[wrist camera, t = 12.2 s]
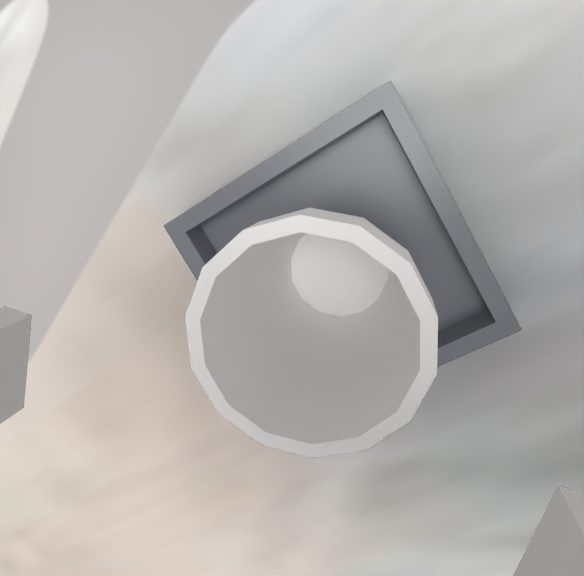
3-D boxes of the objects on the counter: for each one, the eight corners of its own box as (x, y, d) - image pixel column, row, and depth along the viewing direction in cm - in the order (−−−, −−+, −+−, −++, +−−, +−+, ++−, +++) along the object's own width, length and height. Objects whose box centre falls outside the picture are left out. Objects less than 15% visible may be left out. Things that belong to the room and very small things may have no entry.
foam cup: (330, 365, 32) (294, 496, 20) (236, 258, 31) (138, 325, 19) (450, 276, 29) (496, 364, 17) (350, 156, 28) (321, 157, 16)
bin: (507, 310, 30) (521, 329, 27) (300, 404, 34) (290, 431, 31) (390, 89, 28) (390, 80, 25) (186, 218, 32) (163, 225, 29)
